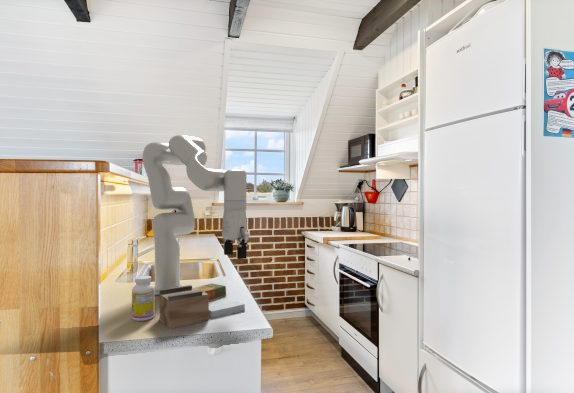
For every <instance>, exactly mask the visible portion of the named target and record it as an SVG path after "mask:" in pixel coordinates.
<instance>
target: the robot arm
mask: <svg viewBox="0 0 574 393" xmlns="http://www.w3.org/2000/svg"><path fill="white" fill-rule="evenodd" d="M206 150H207V149H206V144H205V142H204V141H203V139H201V138H199V137H195V136H191V135H190V136H189V135H184V134H183V135H182V134H177V135H174V136H171V138H170V139H169V141H168V143H167V142H161V141H159V142H158V141H157V142H150V143H148V144H147V145H145V147H144V149H143V151H142V165H143V168H144V170H145V173H146V176H147V178H148V185H149V191H150V197H151V201H152V202H151V203H152V205H153V207H154V208H155V209H156V210H159V211H170V212H161V213H159V214H156V215H155V216H154V217H153V219H152V221H151V228H152V234H153V238H154V239H153V242H154V287H155V296H160V294H159V293H160V290H161V289H168V288H174V287H181V286H182V285H181V283H180V282H181V280H180V278H181V277H180V276H181V272H180V271H181V266H180V264H181V262H180V261H181V259H180V256H181V254H180V253H181V251H180V250H181V248H180V247H181V246H180V244H179V242H178V239H177V238H176V236H183V235H189V234H191V233H193V232H194V230H195V227H196V221H195V220H196V219H195V212H194V207H193V203H192V202H193V201H192V198H191V194H190V192H189V190H187V189H186V188H184V187H180V186H173V185H172V181H171V180H172V179H171V174H170V173H169V172H168V170H167V169H166V168H165V166H163V164H165V165H173V166H183V165H184V166H185V169H186V175H187V178H188V180H189V181H190V182H191V183H192V184H194V186H195V187H197V188H198V189H200V190H202V191H204V192H223V216H222V226H221V227H222V229H221V238H222V239H223V255H225V256H228V255H233V254H234V242H233V241H236V243H237V248H236V249H237V250H236V255H237V256H236V259H237V260H243V259H244V260H245V259H247V258H248V257H247V253H248V252H247V250H248V249H247V248H248V243H249V237H250V234H249V232H248V223H247V220H248V219H247V212H246V211H247V172H246V170H243V169H227V170H226V169H225V170H223V169H214V168H207V167H205V165H206V163H207V162H208V155H207V153H206ZM171 210H172V211H173V210H175V211H173V212H172V211H171Z"/></svg>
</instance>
